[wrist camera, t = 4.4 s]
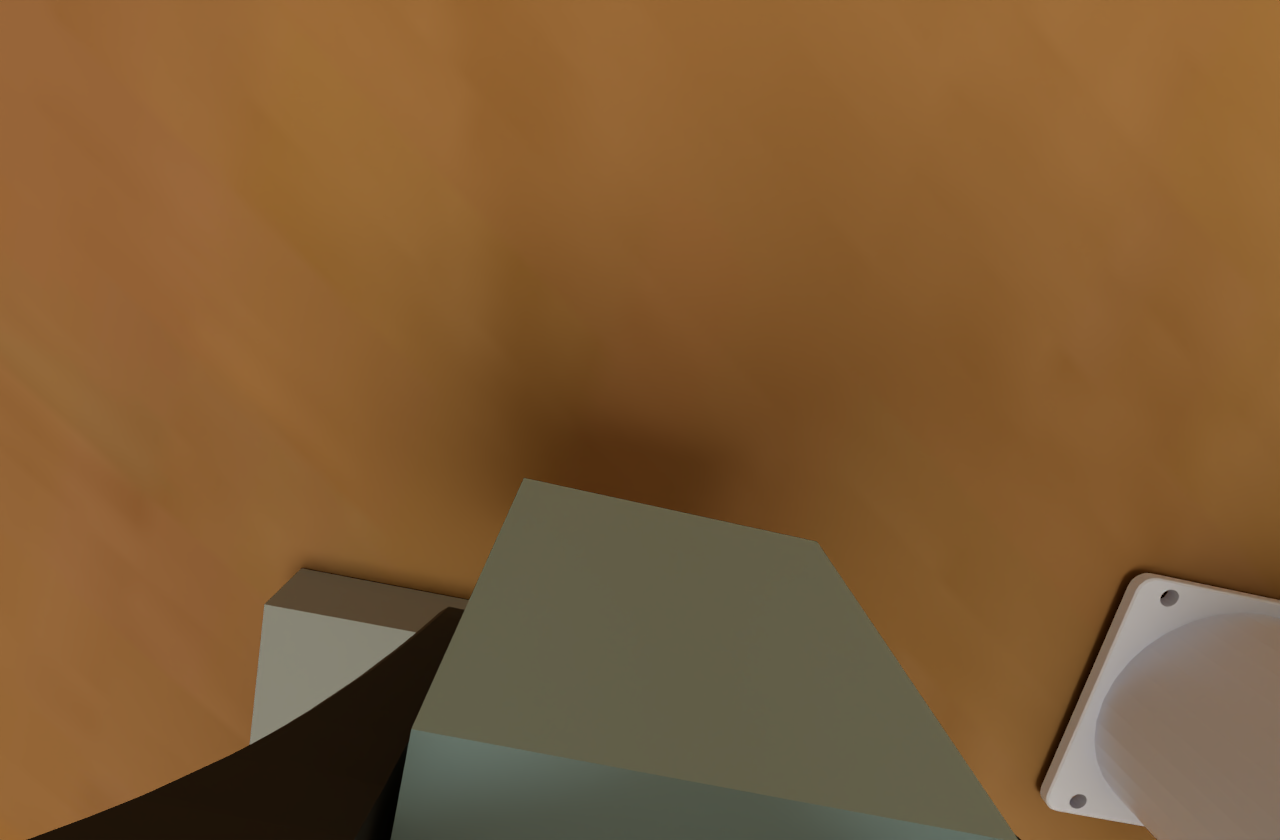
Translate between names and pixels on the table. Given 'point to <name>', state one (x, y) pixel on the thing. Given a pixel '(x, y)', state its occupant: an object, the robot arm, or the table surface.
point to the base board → (330, 639)
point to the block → (673, 694)
